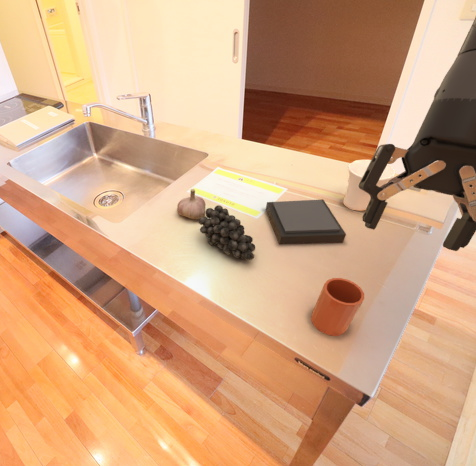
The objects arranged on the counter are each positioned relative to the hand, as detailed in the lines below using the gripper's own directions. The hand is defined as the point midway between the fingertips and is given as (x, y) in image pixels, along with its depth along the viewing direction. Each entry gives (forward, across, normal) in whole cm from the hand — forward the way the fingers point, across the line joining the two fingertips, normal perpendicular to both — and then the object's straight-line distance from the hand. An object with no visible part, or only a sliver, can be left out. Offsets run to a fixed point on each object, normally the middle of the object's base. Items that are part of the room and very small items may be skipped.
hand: (408, 238), depth 40 cm
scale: (+7, -8, +33) cm, 35 cm away
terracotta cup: (+19, -1, +10) cm, 21 cm away
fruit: (+15, -22, +23) cm, 35 cm away
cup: (+1, +4, +44) cm, 44 cm away
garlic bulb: (+12, -33, +32) cm, 47 cm away
